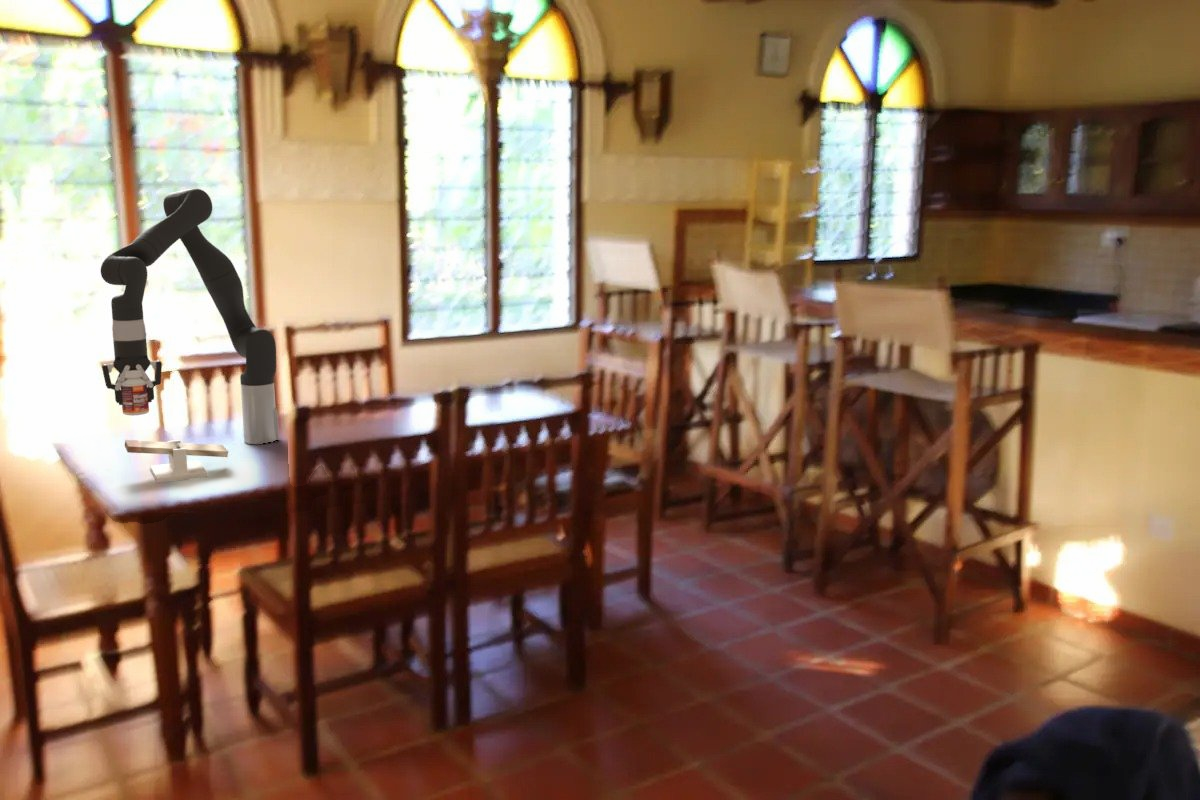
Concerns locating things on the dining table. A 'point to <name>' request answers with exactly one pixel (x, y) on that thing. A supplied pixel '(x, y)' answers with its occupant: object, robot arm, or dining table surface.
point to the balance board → (168, 447)
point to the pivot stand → (178, 467)
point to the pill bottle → (134, 394)
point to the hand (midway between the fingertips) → (135, 402)
